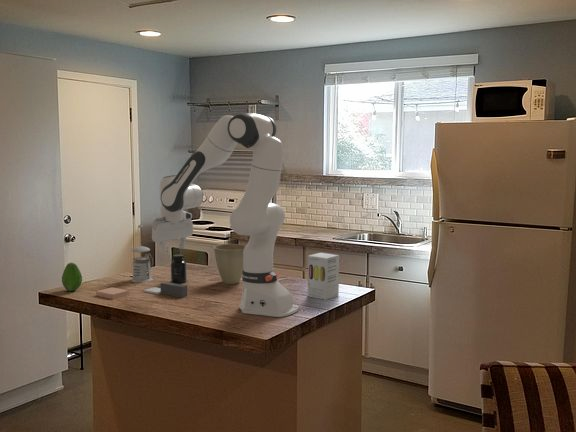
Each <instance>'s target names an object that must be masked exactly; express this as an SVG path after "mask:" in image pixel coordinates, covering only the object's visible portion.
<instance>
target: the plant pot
mask: <svg viewBox="0 0 576 432" xmlns="http://www.w3.org/2000/svg"><path fill="white" fill-rule="evenodd" d="M246 245H247V244H246ZM246 245H245V244H241V243H239V244H237V243H236V244H235V243H226V244H225V243H224V244H223V243H222V244H218V245H215V246H213V252H214V258H215V262H216V266H217V270H218V273H219V277H220V279H221V281H222V283H223V284H226V285H236V284H239V283H240V282H241V279H242V271H243V251H244V248H245V246H246Z"/></svg>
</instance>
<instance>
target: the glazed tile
mask: <svg viewBox="0 0 576 432" xmlns="http://www.w3.org/2000/svg"><path fill="white" fill-rule="evenodd" d="M95 295H96V297H101V298H105V299H111V300H115V299H119V298H122V297H126V296H129V295H130V294H129V290H127V289H122V288H117V287H108V288H104V289H100V290H95Z"/></svg>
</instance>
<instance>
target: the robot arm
mask: <svg viewBox="0 0 576 432" xmlns="http://www.w3.org/2000/svg"><path fill="white" fill-rule="evenodd" d="M276 134H277V124H276V122H275V121H274V119H273V118H271V117H270V116H268V115H266V114H259V113H256V112H248V113H247V112H246V113H245V112H241V113H238V114H235V115H230V114H227V115H223V116H221V117H220V118H219V119H218V120H217V122H216V123H215V124H214V125H213V126H212V128H211V130H210V131H209V132H208V133H207V136H206V137H205V139H204V140H203V142H202V143H201V144H200V146H199V147H198V148H197V150H196V151H194V153H192V155H190V157H188V159H187V160H186V162H185V163H184V165H183V166H181V168H180V170H179V171H178V173H177V175H176V174H174V175H168V176H164V177H162V178H161V179H160V184H159V199H160V202H161V203H160V204H161V205H160V217H156V218H155V219H154V220H153V221H152V230H151V239H152V242H154V243H159V246H160V247H161V252H162V253H168V252H169V247H167V245H166V243H167V241H168V242H169V241H173V240H177V239H179V240H180V241H179V242H180V243H178V249H179V250H181V249H185V243H186V241H187V237H192V236H193V233H194V224H193V220H192V219H193V214H192V213H191V212H187V211H184V210H188V209H194V208H197V207H199V206H201V204H202V203H203V199H204V193H203V189H202V188H201V186H199V185H198V184H196V183H193V182H194V181H195V180H196V178H197V177H198V176H200V174H202V173H203V172H205V171H207V170H210V169H213V168H217V167H218V166H221V165H223V164H224V163H225V162H226V161H227V160H228V159H229V158H230V157H231V155H232V154H233V152H234V150H235V148H236V146H237V145H238V144H240V145H241V146H243V147H245V148H246V149H249V148H250V149H251V151H252V159H251V167H250V171H249V178H248V182H247V186H246V189H245V192H244V194H243V196H242V198H241V200H240V203H239V204H238V205H237V207H236V208H235V209H234V210H233V211H232V212H231V214H230V216H229V224H230V228H231V230H232V231H233V232H234V233H235V234H237V235H239V236H240V235H241V236H250V237H249V239H248V242H247V243H246V246H245V248H244V251H243V271H242V276H241V279H242V293H241V297H240V298H241V300H240V304H239V305H238V306H239V307H238V308H239V309H240V310H241V313H242V314H246V315H247V314H249V315H256V316H257V315H258V316H266V317H272V318H273V317H274V318H282V317H287V316H290V315H292V314H295V313H297V312H298V311H299V310H300V307H299V306H298V305H295V304H294V301H293V296H292V294H291V291H289V290H288V289H287V288H286V287H284V285H282V283H281V282H279V281H278V278H277V277H279V276H280V272H277V273H276V272H275V270H274V248H275V244H276V240H277V236H278V234H279V230H280V228H282V226H283V224H284V222H285V219H286V218H285V217H286V216H285V211H284V208H282V206H281V205H279V204H277V203H273V202H271V201H272V199H273V197H274V196H275V195H276V194H277V193H278V191H279V186H280V182H281V175H282V171H283V162H284V145H283V142H282V141H281V140H280V139H279V138H277V137H276Z"/></svg>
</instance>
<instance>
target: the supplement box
mask: <svg viewBox="0 0 576 432" xmlns="http://www.w3.org/2000/svg"><path fill="white" fill-rule="evenodd" d="M307 256H308V258H307V260H308V261H307V297H310V298H314V299H319V300H324V301H327V300H330V299H333V298H335V297H338V296H339V292H340V291H339V290H340V289H339V288H340V285H339V284H340V283H339V282H340V281H339V280H340V255H339V254H333V253H327V252H317V253H313V254H309V255H307Z"/></svg>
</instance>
